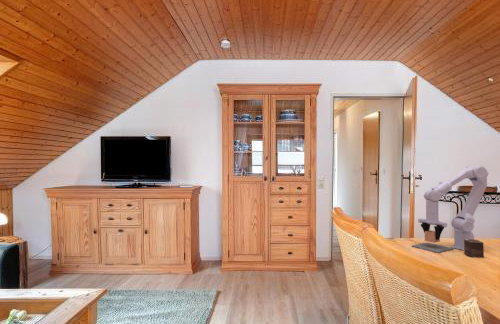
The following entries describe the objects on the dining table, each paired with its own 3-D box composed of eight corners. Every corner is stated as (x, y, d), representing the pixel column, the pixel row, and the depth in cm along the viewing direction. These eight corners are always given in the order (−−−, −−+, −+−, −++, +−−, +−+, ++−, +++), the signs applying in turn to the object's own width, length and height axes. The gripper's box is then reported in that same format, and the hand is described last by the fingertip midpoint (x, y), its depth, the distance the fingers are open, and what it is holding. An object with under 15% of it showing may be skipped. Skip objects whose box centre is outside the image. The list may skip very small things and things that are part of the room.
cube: (430, 239, 170) (430, 230, 171) (439, 241, 166) (439, 232, 166) (424, 240, 168) (424, 231, 168) (434, 242, 164) (433, 233, 164)
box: (484, 258, 150) (484, 242, 150) (469, 257, 151) (469, 241, 151) (477, 254, 155) (477, 239, 156) (463, 253, 157) (463, 238, 157)
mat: (427, 243, 177) (427, 242, 177) (453, 249, 164) (453, 248, 164) (411, 246, 170) (411, 245, 170) (437, 253, 158) (437, 251, 158)
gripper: (414, 211, 172) (414, 236, 172) (441, 215, 159) (441, 242, 159) (422, 210, 175) (422, 234, 175) (449, 214, 162) (449, 240, 162)
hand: (432, 238), depth 167 cm, fingers closed on cube, 5 cm apart
